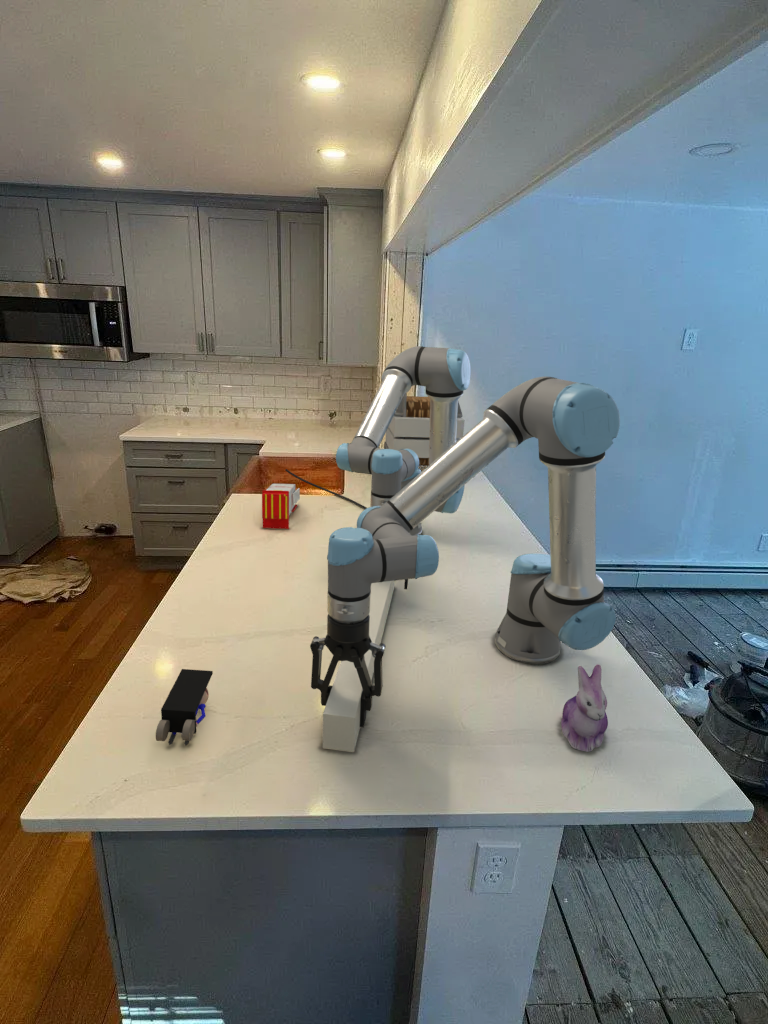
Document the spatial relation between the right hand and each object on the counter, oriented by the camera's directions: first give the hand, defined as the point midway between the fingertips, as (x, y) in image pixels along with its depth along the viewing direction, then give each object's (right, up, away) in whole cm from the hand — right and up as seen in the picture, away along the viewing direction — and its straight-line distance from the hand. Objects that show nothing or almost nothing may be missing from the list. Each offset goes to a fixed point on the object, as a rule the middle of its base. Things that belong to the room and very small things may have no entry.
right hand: (346, 720), depth 108 cm
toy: (-31, +38, +104) cm, 115 cm away
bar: (+3, +8, +23) cm, 25 cm away
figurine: (+45, -3, -1) cm, 45 cm away
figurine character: (-29, 0, -2) cm, 29 cm away
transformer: (+25, +59, +167) cm, 179 cm away
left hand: (+6, +20, +45) cm, 49 cm away
